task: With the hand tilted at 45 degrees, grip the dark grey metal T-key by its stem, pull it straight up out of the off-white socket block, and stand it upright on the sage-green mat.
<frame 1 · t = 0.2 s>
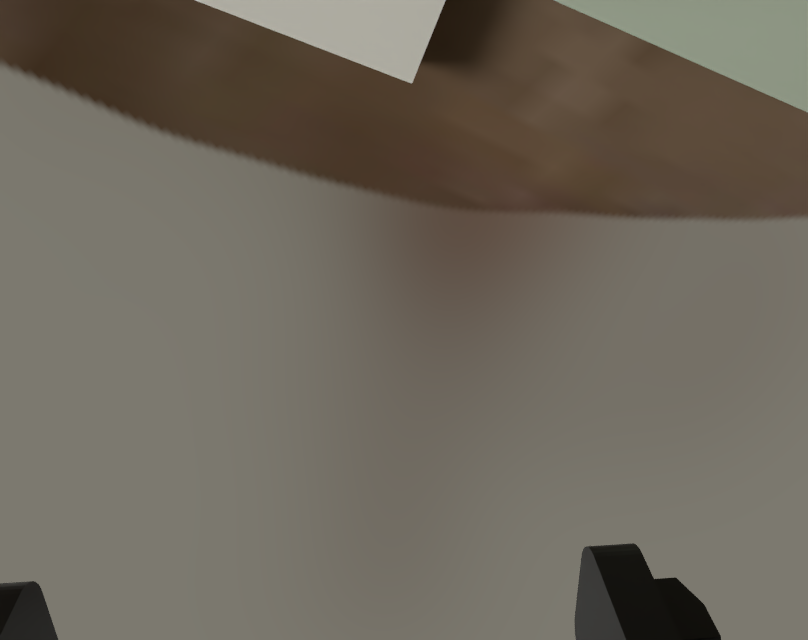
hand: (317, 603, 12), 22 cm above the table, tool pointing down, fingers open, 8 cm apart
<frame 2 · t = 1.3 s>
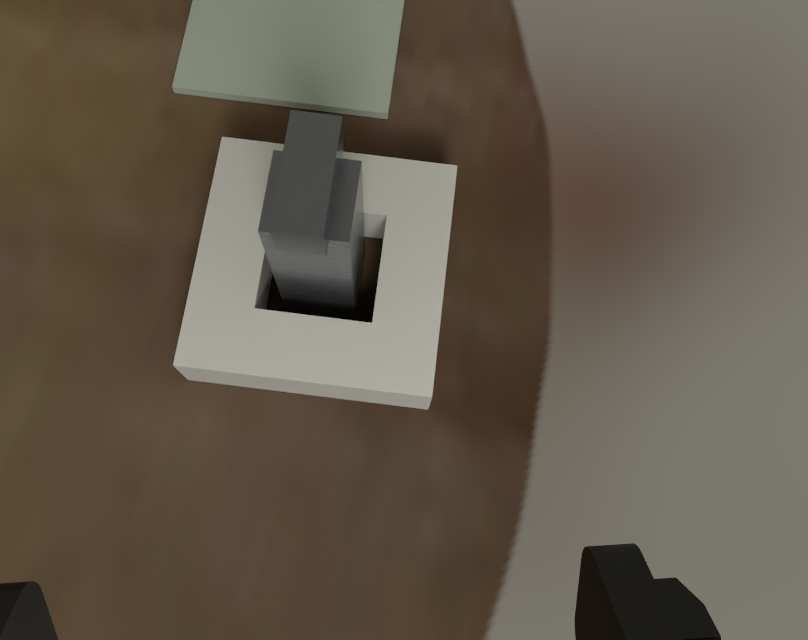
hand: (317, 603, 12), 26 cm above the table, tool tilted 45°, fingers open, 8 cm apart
key socket: (325, 282, 40), on the table
sage mat: (298, 17, 45), on the table
t-key: (317, 235, 35), in the key socket
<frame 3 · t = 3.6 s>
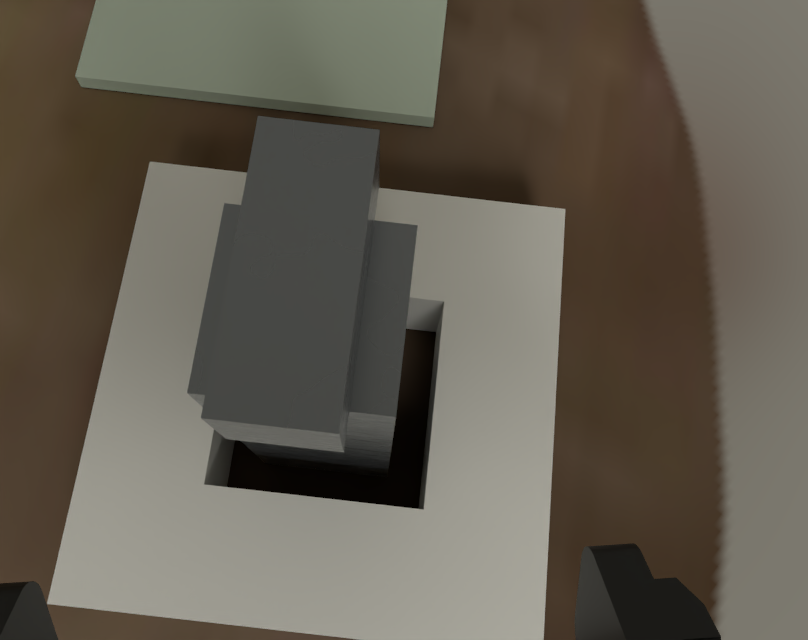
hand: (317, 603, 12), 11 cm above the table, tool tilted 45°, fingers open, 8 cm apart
key socket: (334, 410, 23), on the table
t-key: (321, 361, 18), in the key socket
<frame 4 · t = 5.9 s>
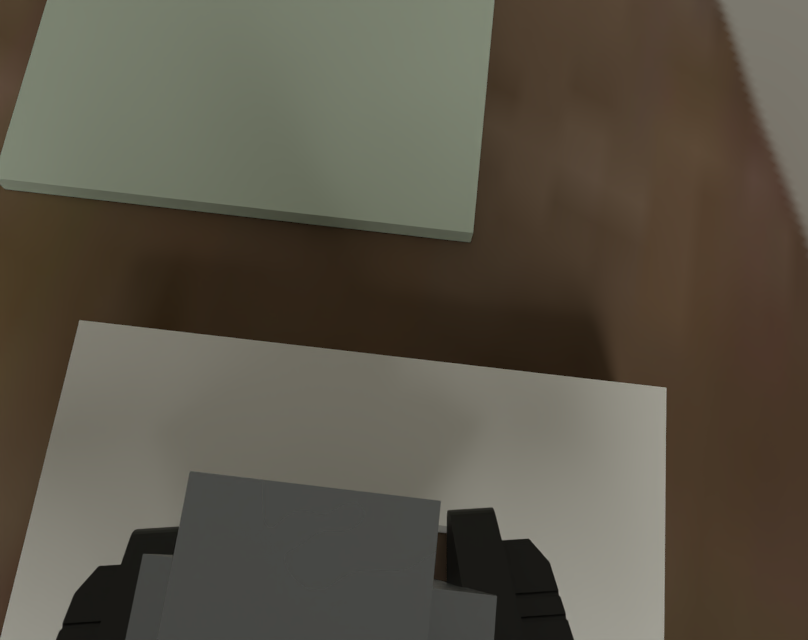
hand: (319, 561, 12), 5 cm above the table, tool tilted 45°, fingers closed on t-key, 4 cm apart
sage mat: (274, 20, 22), on the table
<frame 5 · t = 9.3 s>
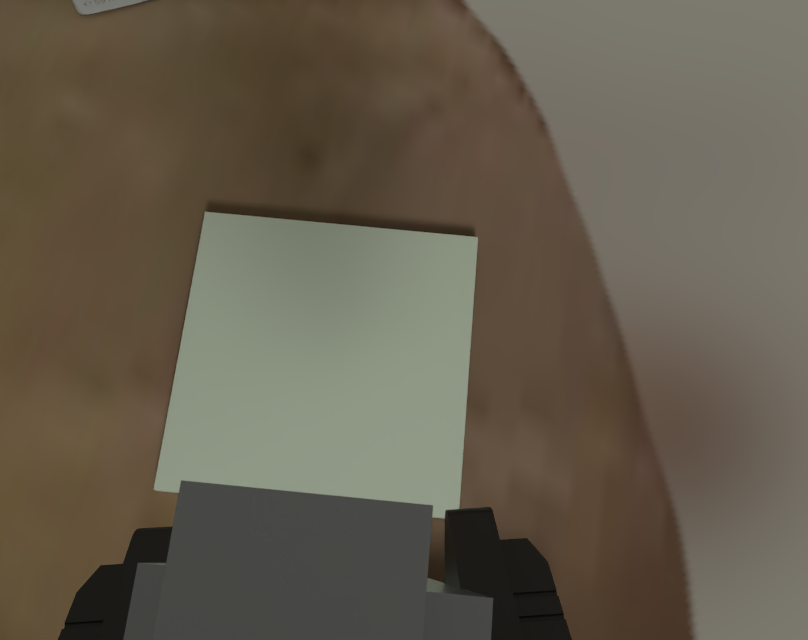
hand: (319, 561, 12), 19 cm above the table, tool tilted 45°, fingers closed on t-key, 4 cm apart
sage mat: (325, 360, 33), on the table
when the fingers open (7 cm above the table, at t = 13.1 s): t-key drops 1 cm, resting on sage mat.
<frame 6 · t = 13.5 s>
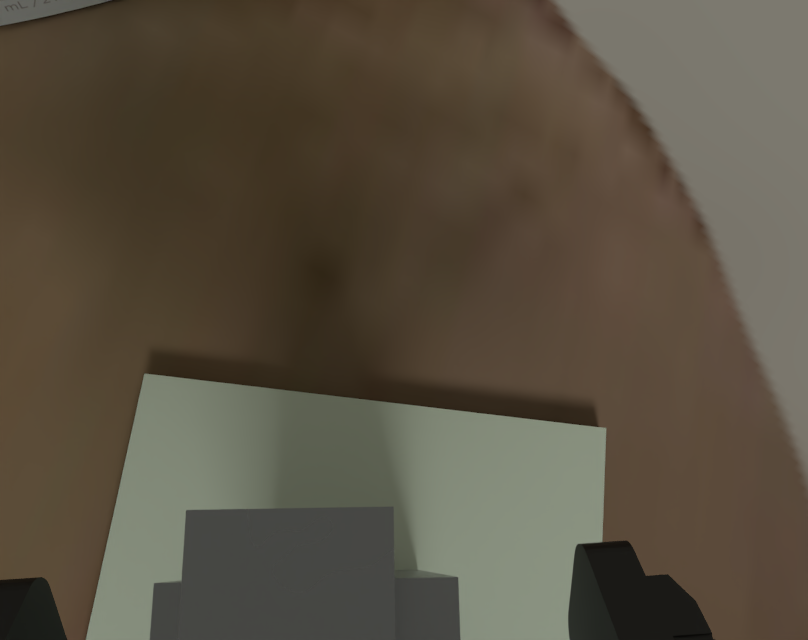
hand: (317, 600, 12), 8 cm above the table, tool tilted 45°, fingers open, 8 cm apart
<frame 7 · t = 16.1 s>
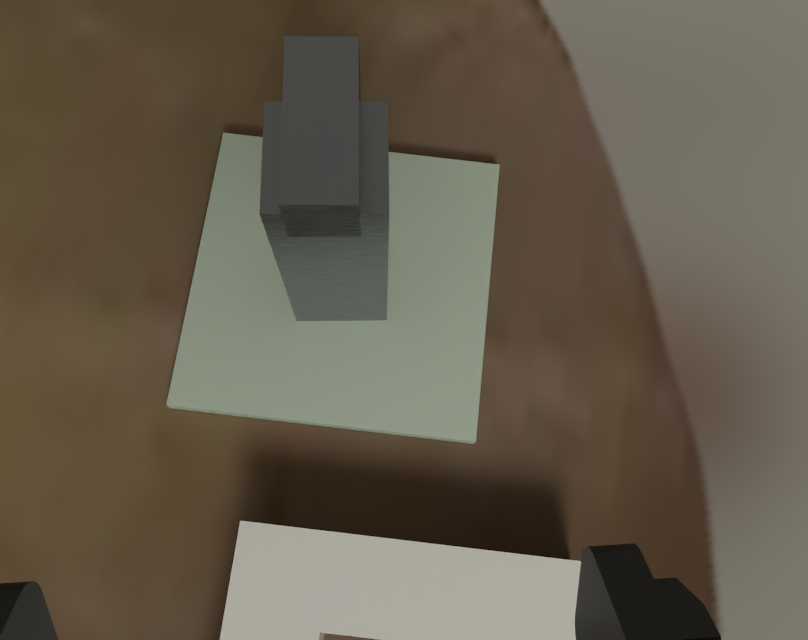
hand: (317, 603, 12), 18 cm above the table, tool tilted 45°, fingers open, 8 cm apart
sage mat: (342, 283, 32), on the table
t-key: (333, 215, 26), on the sage mat, point 7 cm above the table
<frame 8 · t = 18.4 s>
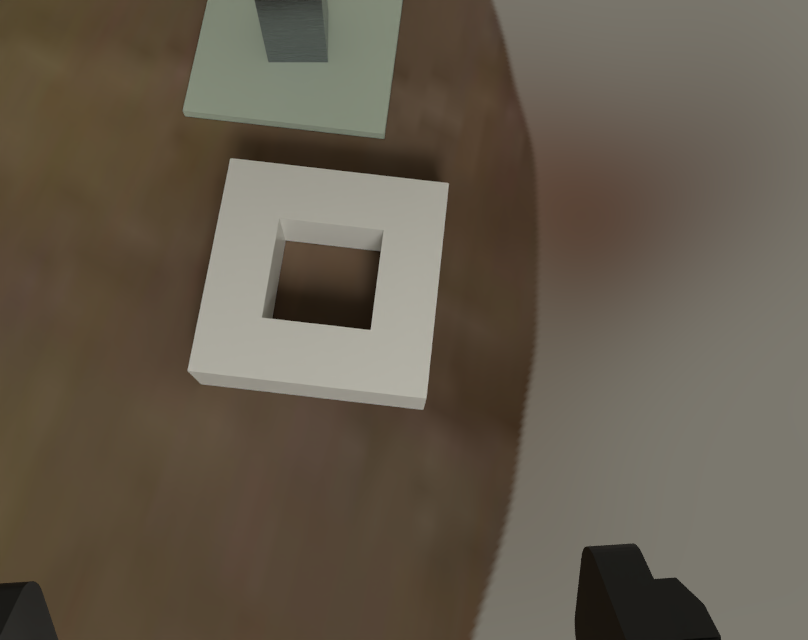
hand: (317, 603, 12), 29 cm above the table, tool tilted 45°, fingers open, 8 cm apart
key socket: (327, 292, 43), on the table
sage mat: (299, 43, 48), on the table
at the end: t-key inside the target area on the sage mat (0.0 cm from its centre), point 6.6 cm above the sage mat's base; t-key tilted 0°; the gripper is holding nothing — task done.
